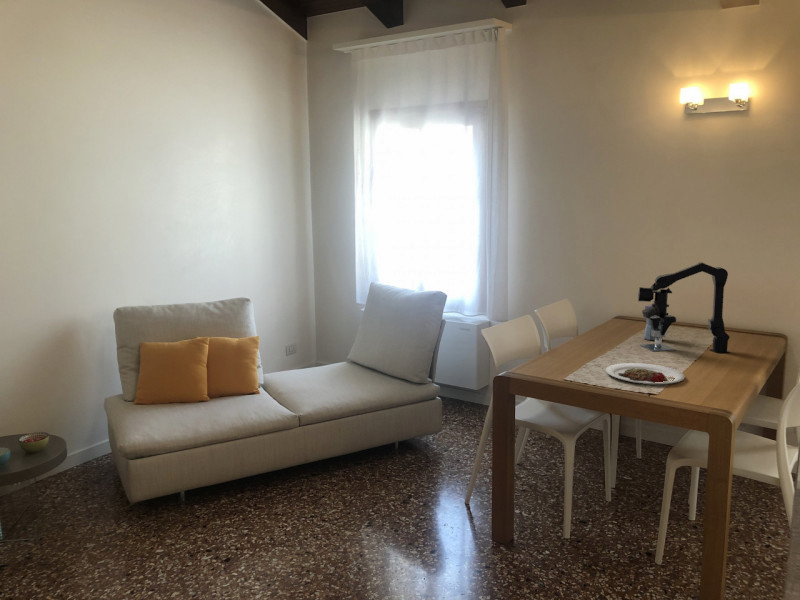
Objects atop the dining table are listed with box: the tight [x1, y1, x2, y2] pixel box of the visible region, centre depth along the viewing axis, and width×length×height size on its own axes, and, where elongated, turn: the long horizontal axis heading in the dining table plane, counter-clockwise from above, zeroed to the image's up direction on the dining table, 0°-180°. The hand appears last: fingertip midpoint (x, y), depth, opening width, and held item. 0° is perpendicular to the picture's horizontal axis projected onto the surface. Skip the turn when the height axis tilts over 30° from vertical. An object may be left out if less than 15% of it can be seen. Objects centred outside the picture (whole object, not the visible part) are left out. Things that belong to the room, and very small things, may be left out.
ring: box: [651, 329, 668, 338], centre depth 308 cm, size 6×6×3 cm
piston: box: [639, 337, 677, 352], centre depth 309 cm, size 12×12×5 cm
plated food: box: [605, 362, 685, 385], centre depth 260 cm, size 30×30×3 cm
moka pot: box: [643, 303, 663, 341], centre depth 326 cm, size 10×15×20 cm, turn 174°
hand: (658, 333), depth 308 cm, fingers closed on ring, 6 cm apart
